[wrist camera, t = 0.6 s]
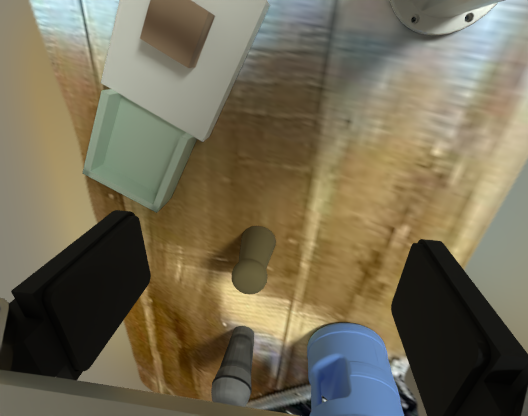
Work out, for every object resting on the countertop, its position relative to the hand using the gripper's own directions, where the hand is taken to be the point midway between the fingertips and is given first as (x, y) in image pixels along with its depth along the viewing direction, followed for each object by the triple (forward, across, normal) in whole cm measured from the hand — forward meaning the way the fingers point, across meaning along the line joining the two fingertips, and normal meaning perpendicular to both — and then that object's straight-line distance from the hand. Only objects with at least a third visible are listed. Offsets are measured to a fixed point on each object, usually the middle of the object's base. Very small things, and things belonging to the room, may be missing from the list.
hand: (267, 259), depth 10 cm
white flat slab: (+32, +15, -7) cm, 36 cm away
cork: (+32, +4, +22) cm, 39 cm away
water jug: (+32, -14, +46) cm, 58 cm away
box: (+32, +22, +6) cm, 39 cm away
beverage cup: (+32, +7, +46) cm, 57 cm away
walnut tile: (+29, +14, -9) cm, 33 cm away
